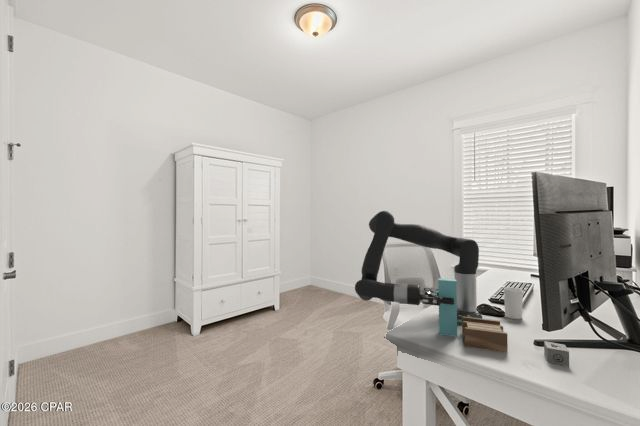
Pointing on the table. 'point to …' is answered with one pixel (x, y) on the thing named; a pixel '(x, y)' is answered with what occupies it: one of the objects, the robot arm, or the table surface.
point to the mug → (513, 302)
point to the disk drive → (466, 314)
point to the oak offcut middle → (483, 326)
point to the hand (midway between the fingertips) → (453, 298)
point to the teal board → (448, 307)
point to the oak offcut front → (484, 328)
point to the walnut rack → (484, 335)
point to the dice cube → (556, 353)
